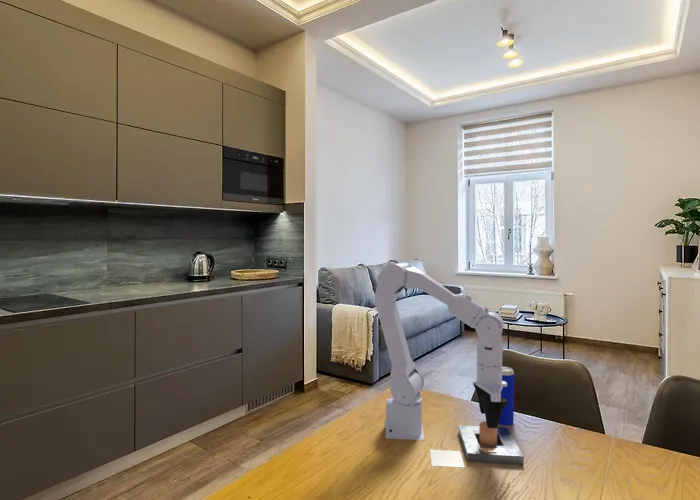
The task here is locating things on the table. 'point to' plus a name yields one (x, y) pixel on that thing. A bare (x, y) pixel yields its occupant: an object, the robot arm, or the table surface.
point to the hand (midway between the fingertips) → (488, 420)
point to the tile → (446, 458)
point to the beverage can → (507, 397)
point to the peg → (487, 435)
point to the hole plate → (490, 447)
